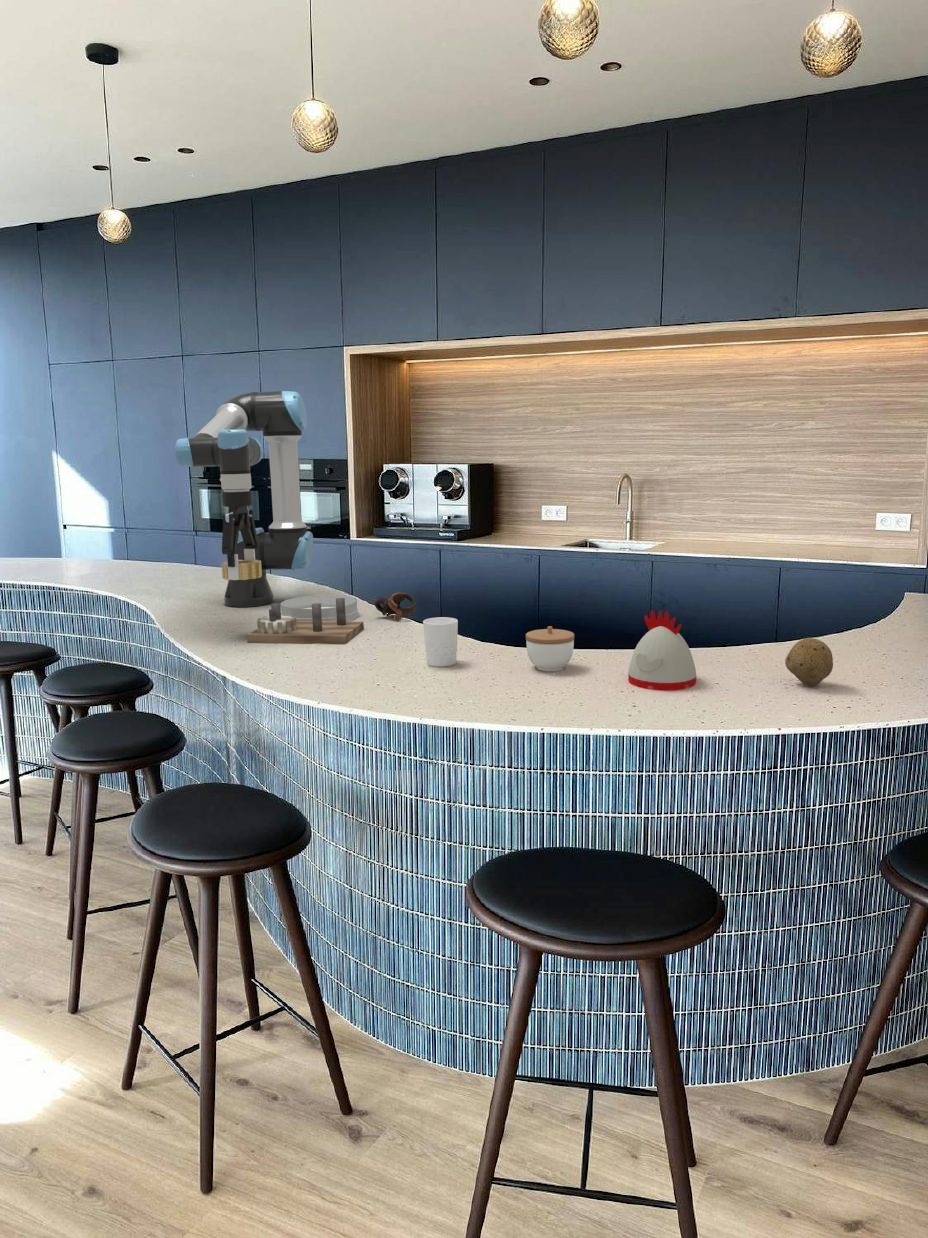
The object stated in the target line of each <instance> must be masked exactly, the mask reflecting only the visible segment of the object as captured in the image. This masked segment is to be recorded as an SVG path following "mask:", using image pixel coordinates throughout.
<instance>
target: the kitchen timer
mask: <svg viewBox="0 0 928 1238" xmlns="http://www.w3.org/2000/svg"><path fill="white" fill-rule="evenodd" d="M643 618H644V621H645V625H646V626H647V629H648V631H647V632H646V633H645V634H644V635H643V636H642V638H640V640H639V641H638V643H637V644H636V647H635V648H634V650H633V654H632V656H631V659H630V663H629V665H628V672H627V673H628V674H627V676H628V679H627V681H628V683H629V684H631V685H632V686H635V687H637V688H641V689H645V690H651V691H681V690H686V689H690V688H692V687H694V686H695V685H696V683H697V670H696V665H695V662H694V661H695V660H694V659H693V655H692V651H691V649H690V647H689V645H688V643H687V642H686V640H685V639H684V637H683V636H682V634H680V630H681V627H682V623H680V624H678V625H677V627H676V628H675V623H676V617H673V618H672V619H670V614H669V611H666V612H664V616H663V611H662V610H660V611H658V612H657V618H656V614H655V611H654V610H651V611H650V613H649V617H648V615H644V617H643Z"/></svg>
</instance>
